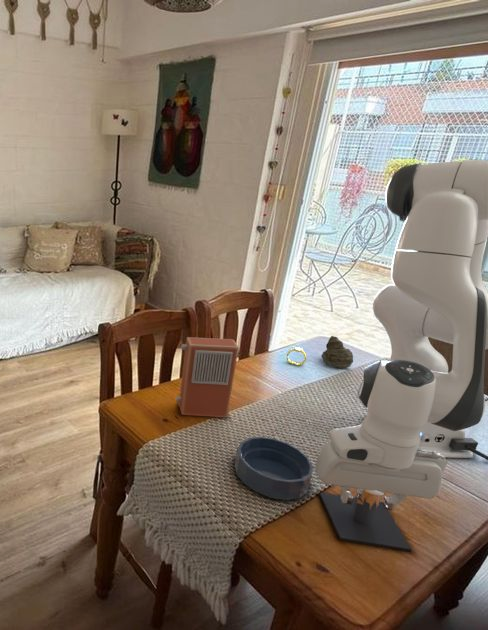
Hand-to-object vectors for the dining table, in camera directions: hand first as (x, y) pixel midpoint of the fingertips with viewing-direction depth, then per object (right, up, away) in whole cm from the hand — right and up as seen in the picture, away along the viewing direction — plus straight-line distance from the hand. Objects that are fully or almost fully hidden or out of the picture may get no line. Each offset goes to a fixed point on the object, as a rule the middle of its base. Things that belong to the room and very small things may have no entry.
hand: (366, 504), depth 86 cm
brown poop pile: (+35, +19, +66) cm, 77 cm away
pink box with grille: (-21, +10, +38) cm, 44 cm away
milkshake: (0, -4, +1) cm, 4 cm away
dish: (-13, +1, +13) cm, 19 cm away
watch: (+20, +20, +67) cm, 72 cm away
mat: (0, -4, +1) cm, 4 cm away
